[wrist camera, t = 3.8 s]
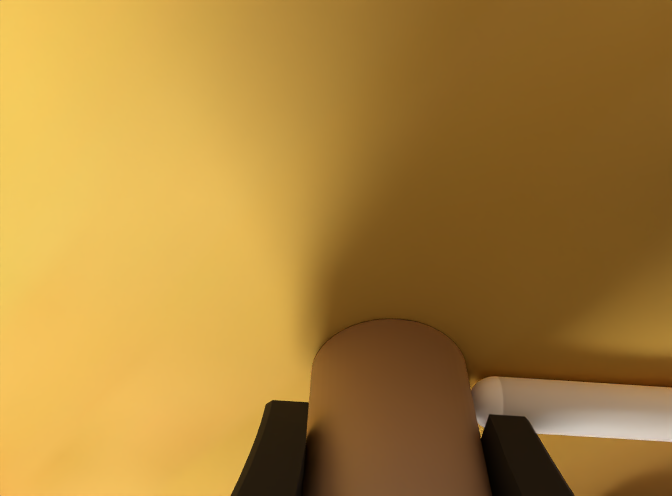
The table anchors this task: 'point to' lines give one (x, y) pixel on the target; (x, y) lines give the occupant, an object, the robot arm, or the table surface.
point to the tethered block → (441, 413)
